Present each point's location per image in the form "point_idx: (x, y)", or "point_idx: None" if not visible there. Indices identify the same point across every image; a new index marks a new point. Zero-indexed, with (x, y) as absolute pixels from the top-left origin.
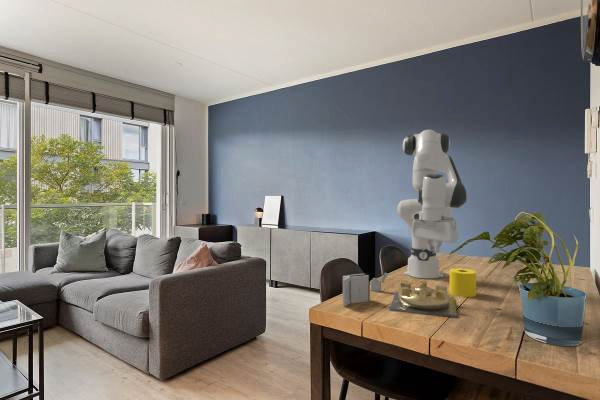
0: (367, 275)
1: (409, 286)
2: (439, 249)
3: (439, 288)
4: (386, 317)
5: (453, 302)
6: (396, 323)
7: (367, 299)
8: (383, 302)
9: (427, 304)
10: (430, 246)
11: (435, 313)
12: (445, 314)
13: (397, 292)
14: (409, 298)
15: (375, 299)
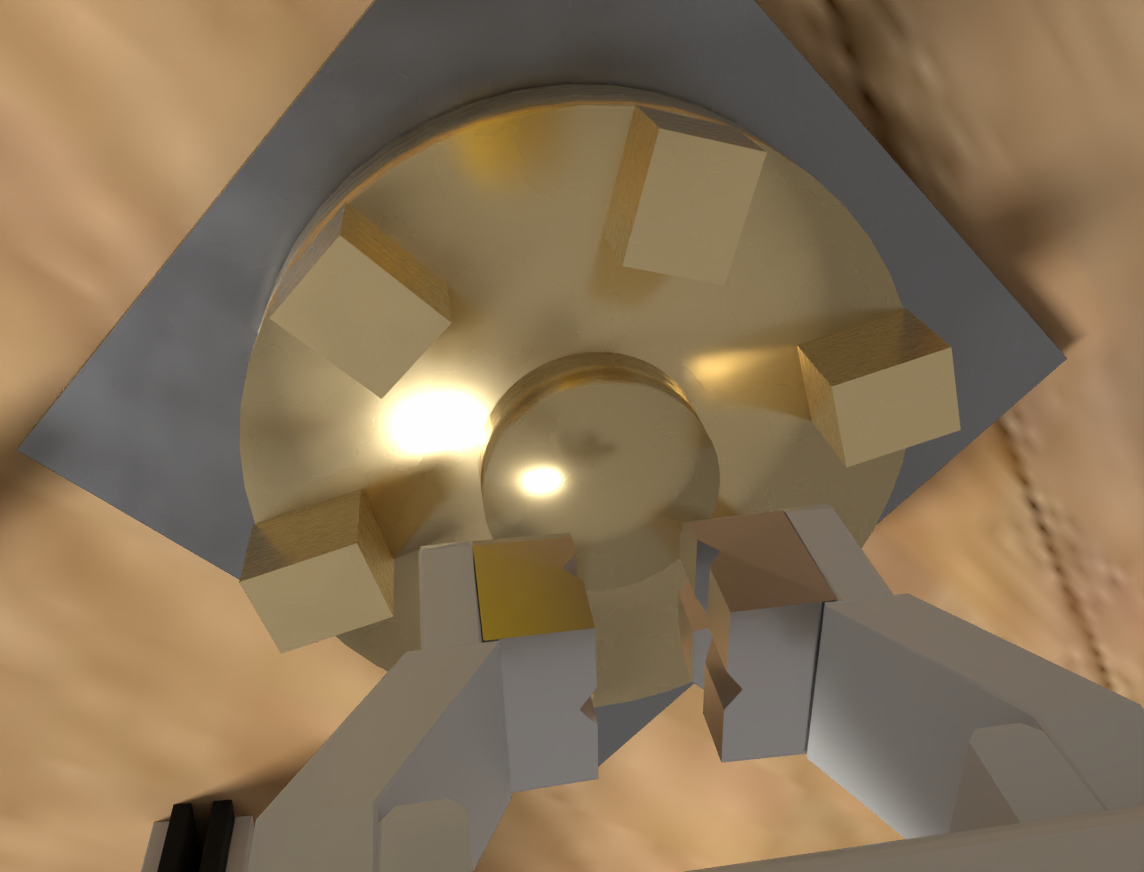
0: None
1: (374, 551)
2: (859, 548)
3: (714, 278)
4: (715, 846)
5: (757, 28)
6: (848, 836)
7: (250, 839)
8: (344, 717)
9: None
10: (509, 750)
11: (899, 500)
12: (973, 435)
13: (62, 449)
14: (671, 689)
15: (216, 743)
